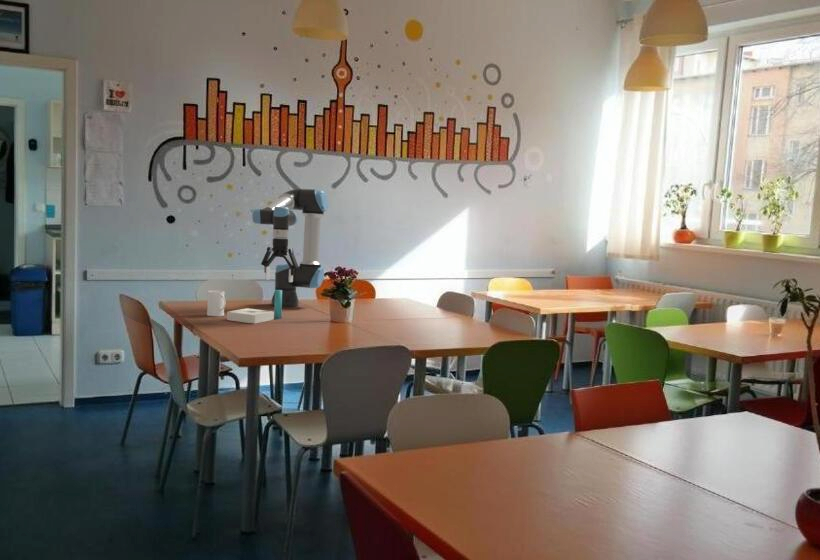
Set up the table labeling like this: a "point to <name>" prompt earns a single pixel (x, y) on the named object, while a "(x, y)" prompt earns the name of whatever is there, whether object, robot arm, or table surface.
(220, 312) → the mug
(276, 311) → the peg
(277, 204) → the robot arm
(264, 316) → the socket block
